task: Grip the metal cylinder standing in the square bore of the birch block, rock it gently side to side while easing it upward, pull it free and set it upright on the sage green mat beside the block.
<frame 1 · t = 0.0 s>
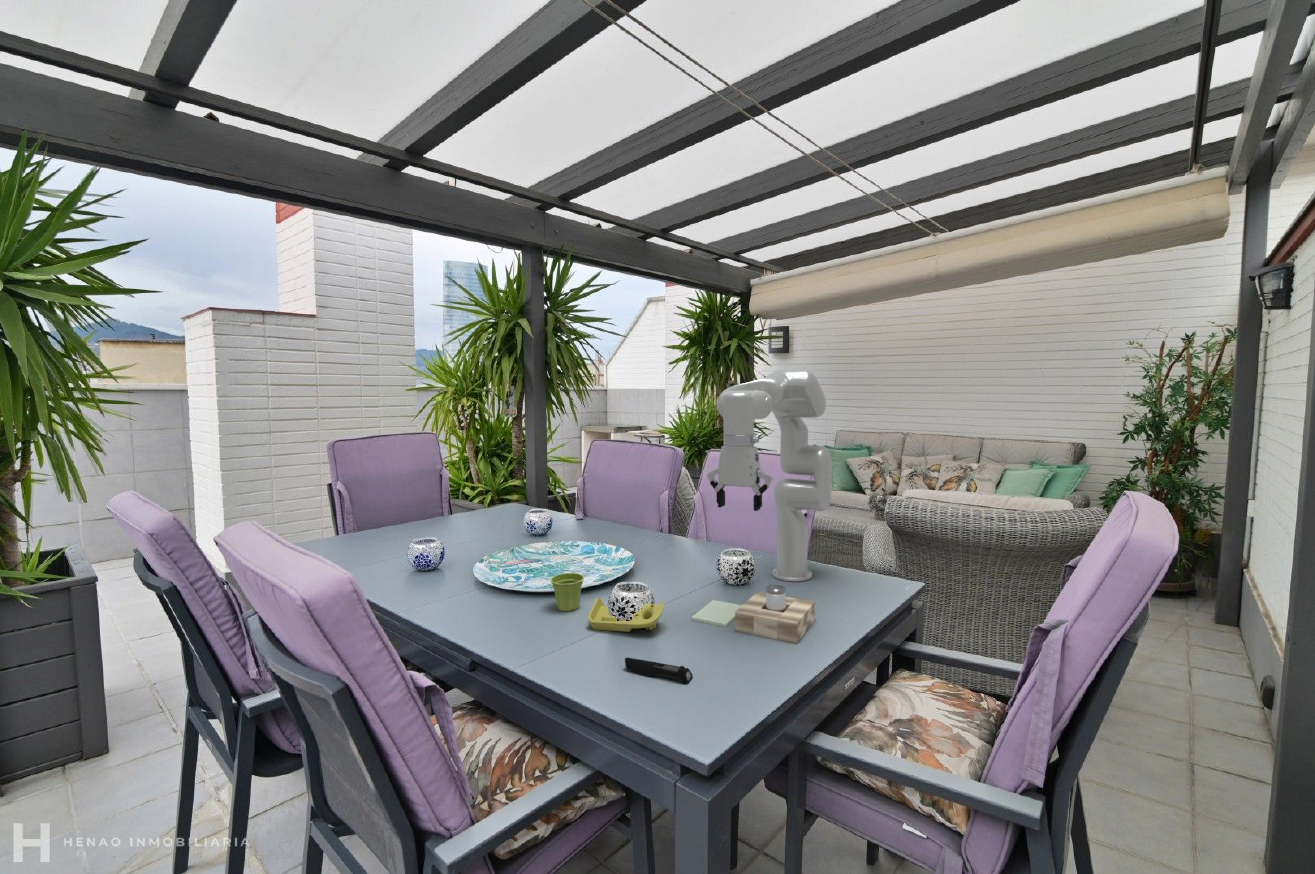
hand: (739, 508, 153), 31 cm above the table, tool pointing down, fingers open, 9 cm apart
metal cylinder: (775, 606, 156), in the bore block
plant pot: (568, 608, 171), on the table
electric trimmer: (658, 677, 131), on the table
plastic component: (628, 627, 158), on the table
mat: (719, 614, 164), on the table
bore block: (775, 625, 156), on the table
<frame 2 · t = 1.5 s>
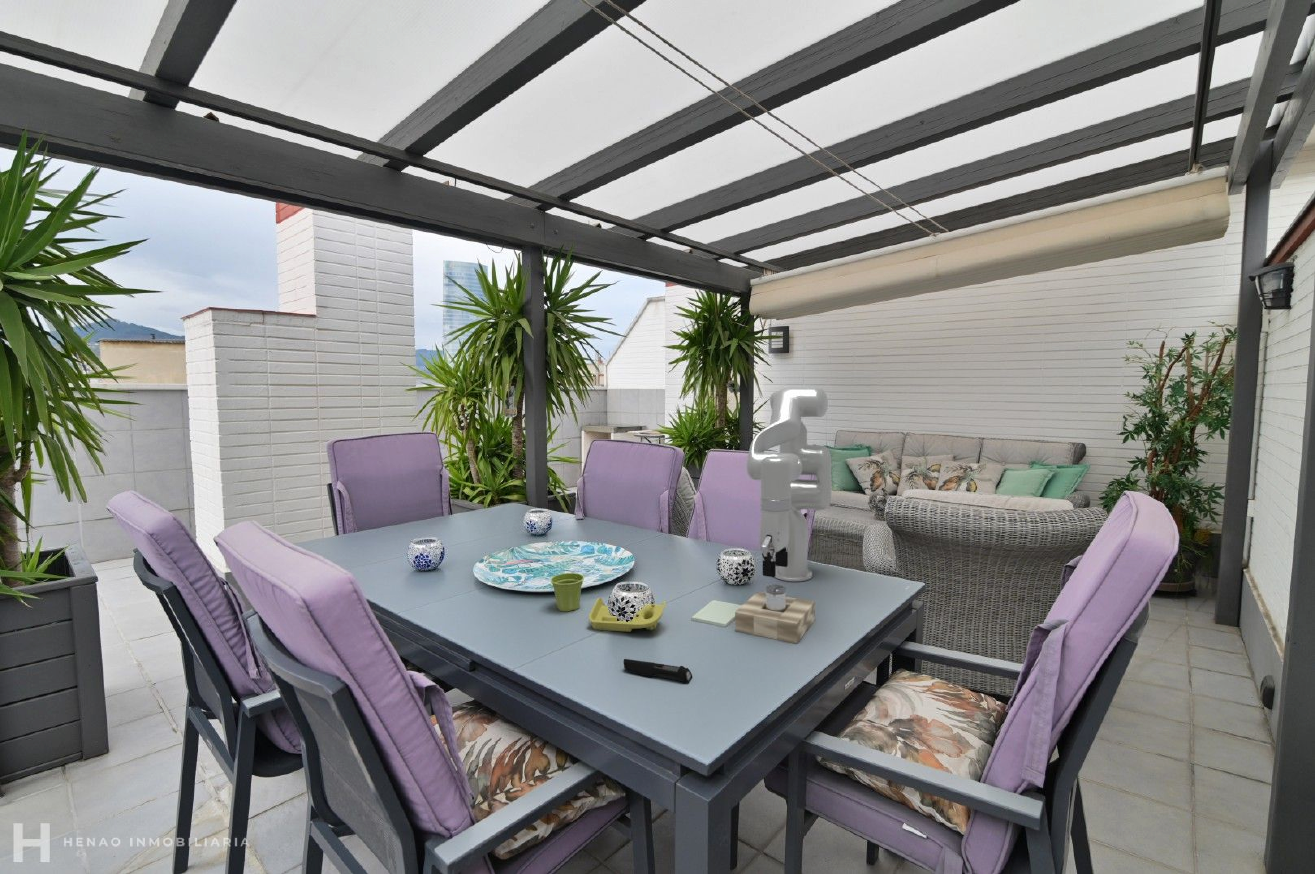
hand: (775, 570, 154), 15 cm above the table, tool pointing down, fingers open, 9 cm apart
nothing on the table moved.
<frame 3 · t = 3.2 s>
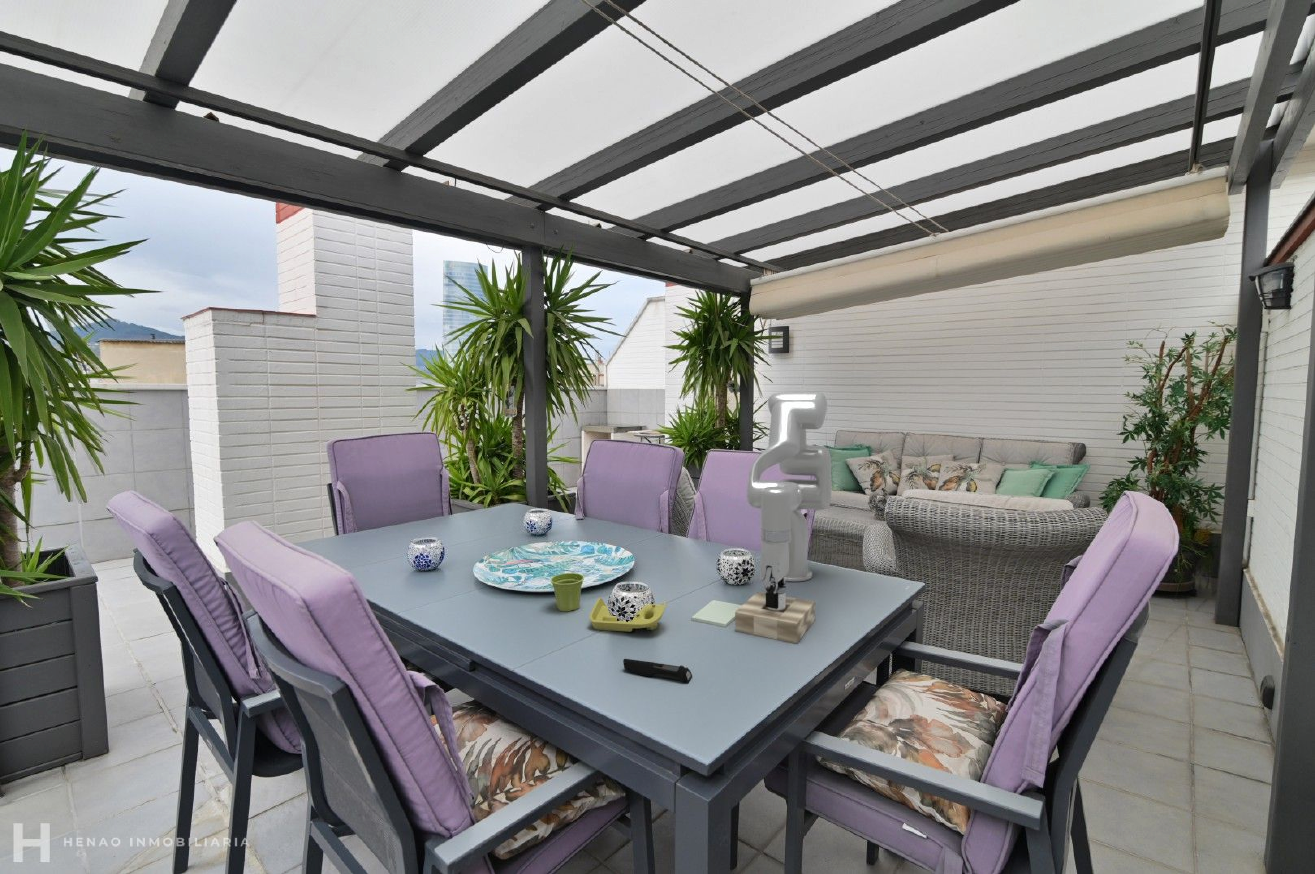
hand: (775, 603, 156), 6 cm above the table, tool pointing down, fingers closed on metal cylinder, 5 cm apart
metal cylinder: (775, 606, 156), in the bore block, touching gripper
everything else where it was.
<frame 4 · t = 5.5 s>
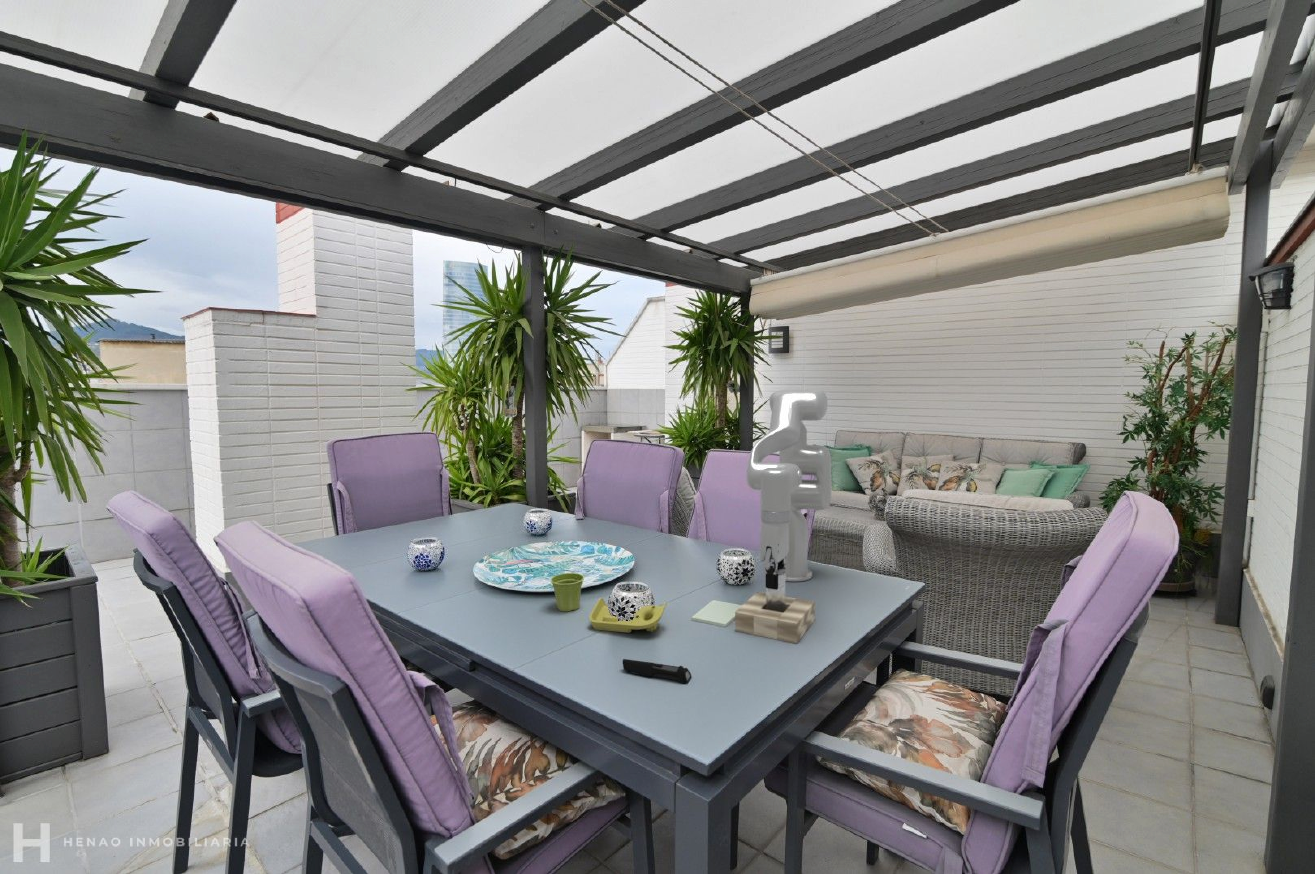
hand: (775, 584, 155), 11 cm above the table, tool pointing down, fingers closed on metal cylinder, 5 cm apart
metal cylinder: (775, 587, 156), point 10 cm above the table, touching gripper
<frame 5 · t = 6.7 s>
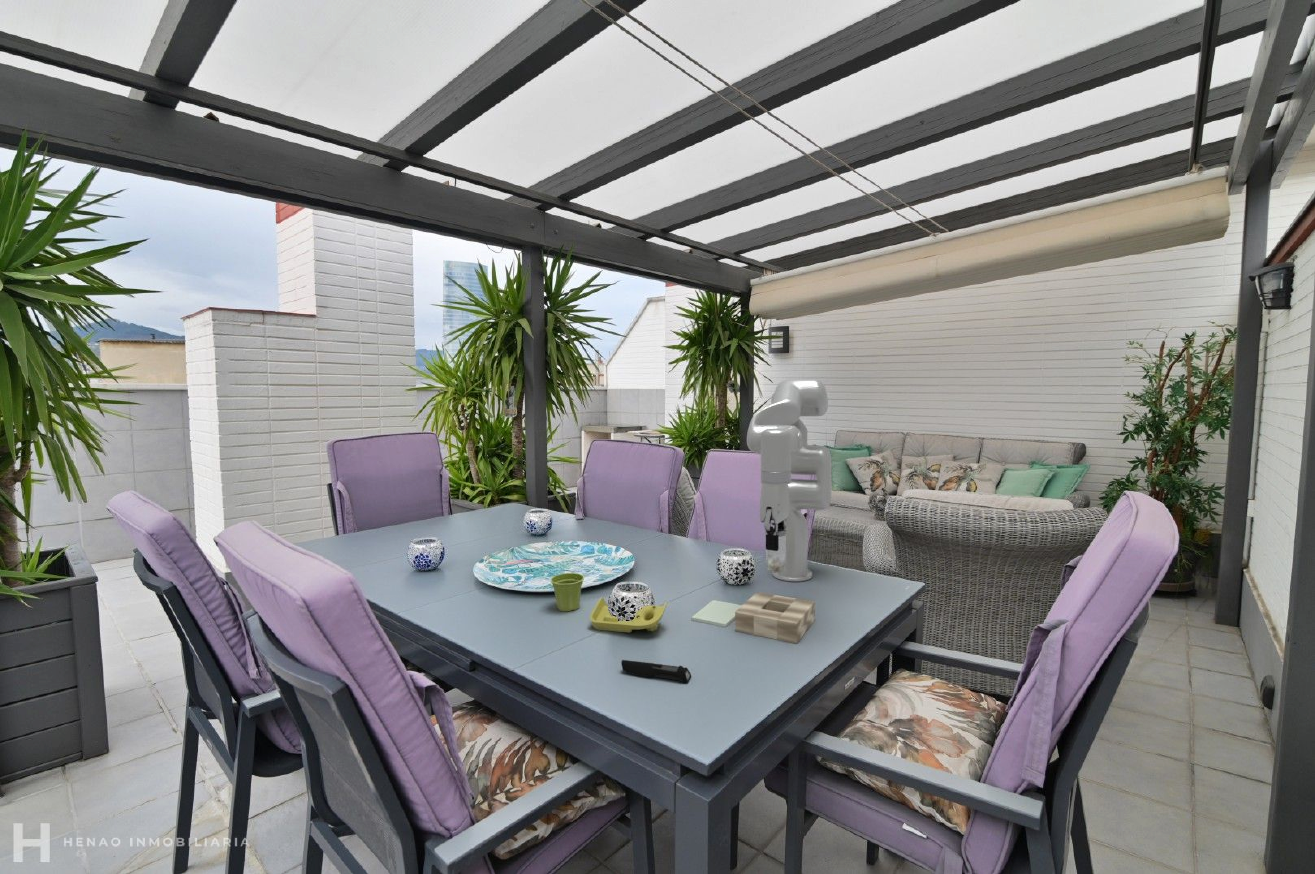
hand: (775, 546, 154), 21 cm above the table, tool pointing down, fingers closed on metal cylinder, 5 cm apart
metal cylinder: (775, 550, 154), point 20 cm above the table, touching gripper
everything else where it was.
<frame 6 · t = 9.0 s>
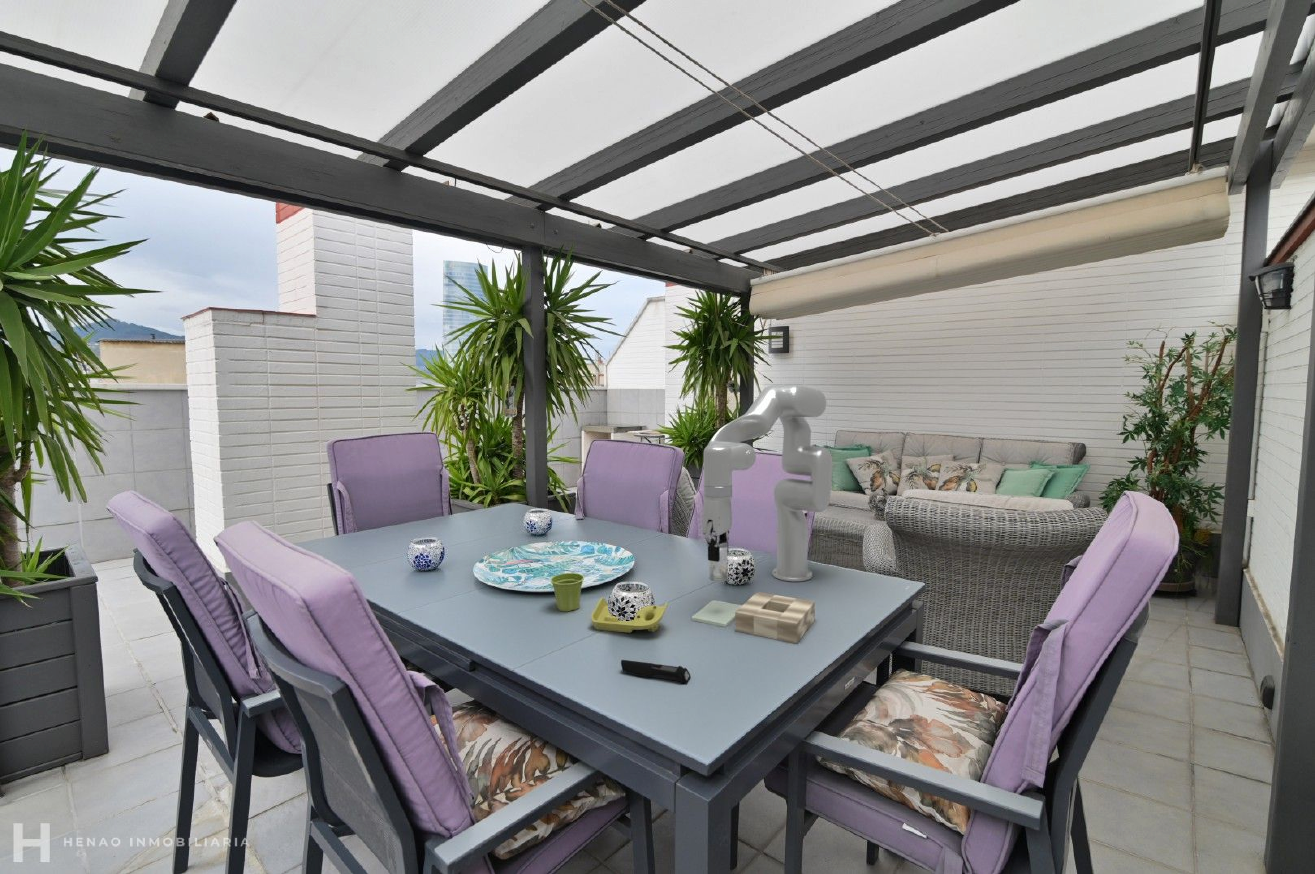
hand: (718, 557, 162), 16 cm above the table, tool pointing down, fingers closed on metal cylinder, 5 cm apart
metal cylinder: (718, 560, 163), point 15 cm above the table, touching gripper
everything else where it was.
when the fingers open (8 cm above the table, at t = 11.1 s): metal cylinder drops 1 cm, resting on mat.
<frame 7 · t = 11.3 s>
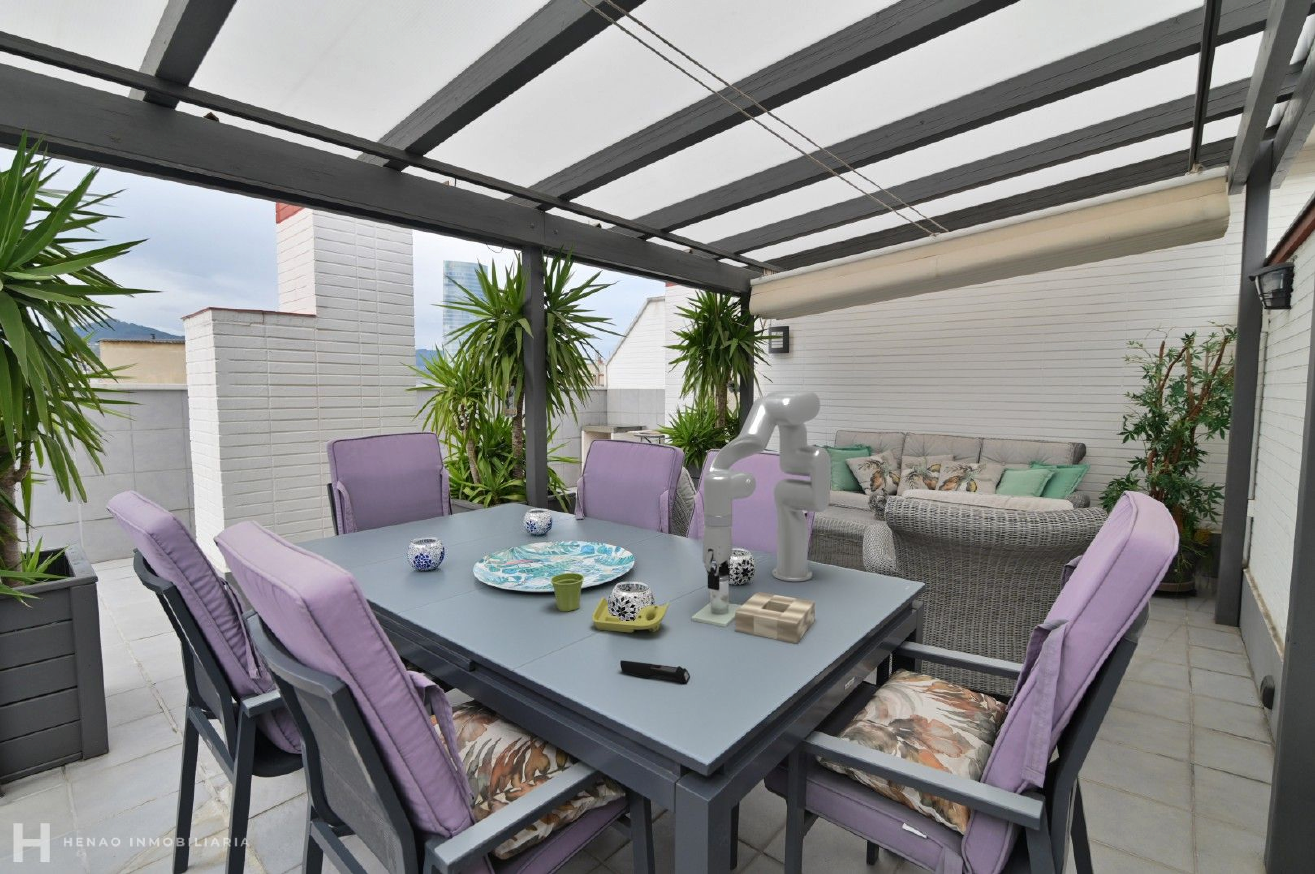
hand: (718, 584, 163), 8 cm above the table, tool pointing down, fingers open, 6 cm apart
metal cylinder: (719, 593, 164), on the mat, point 6 cm above the table
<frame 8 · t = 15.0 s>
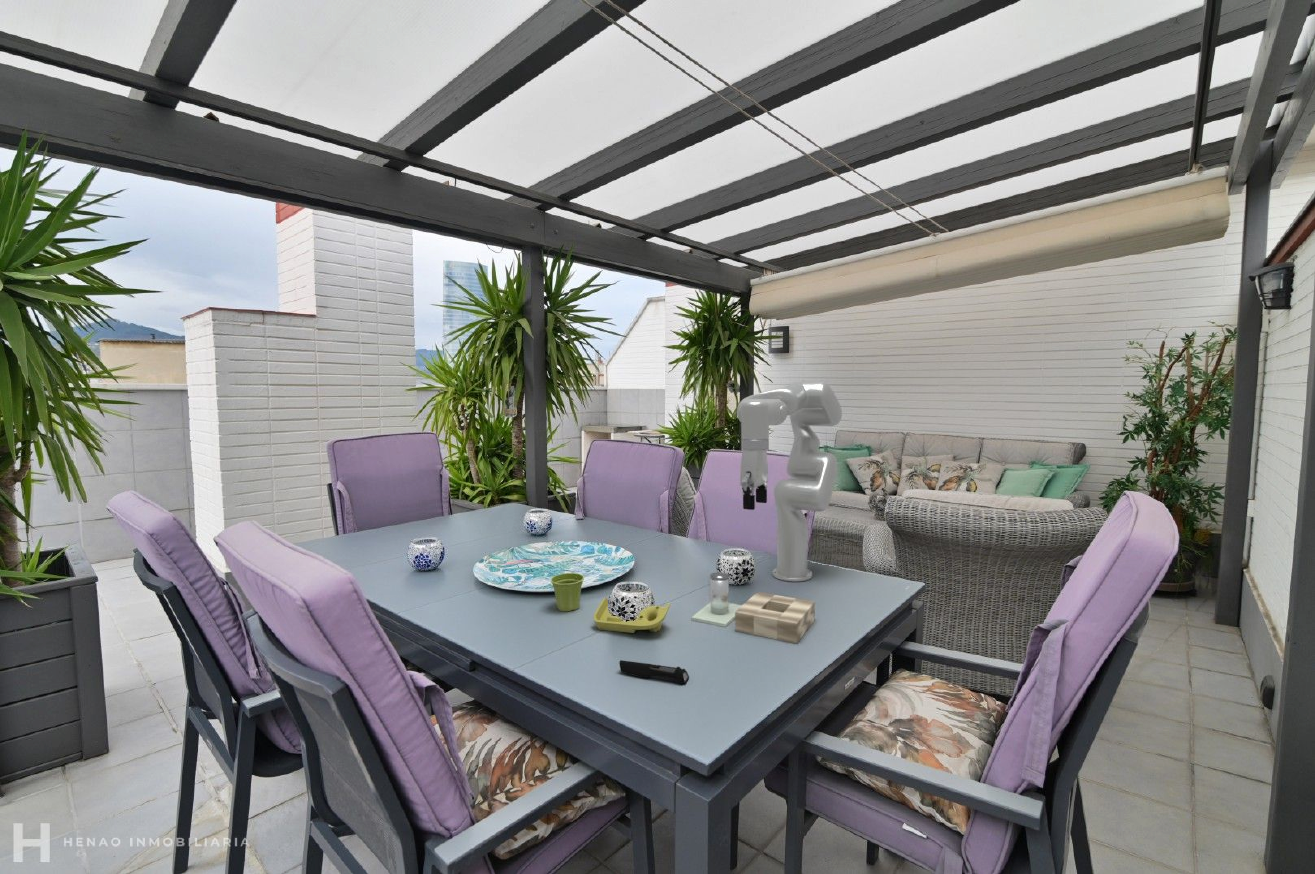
hand: (755, 505, 169), 28 cm above the table, tool pointing down, fingers open, 9 cm apart
at the end: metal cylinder inside the target area on the mat (0.2 cm from its centre), point 5.9 cm above the mat's base; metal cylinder tilted 2°; the gripper is holding nothing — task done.
